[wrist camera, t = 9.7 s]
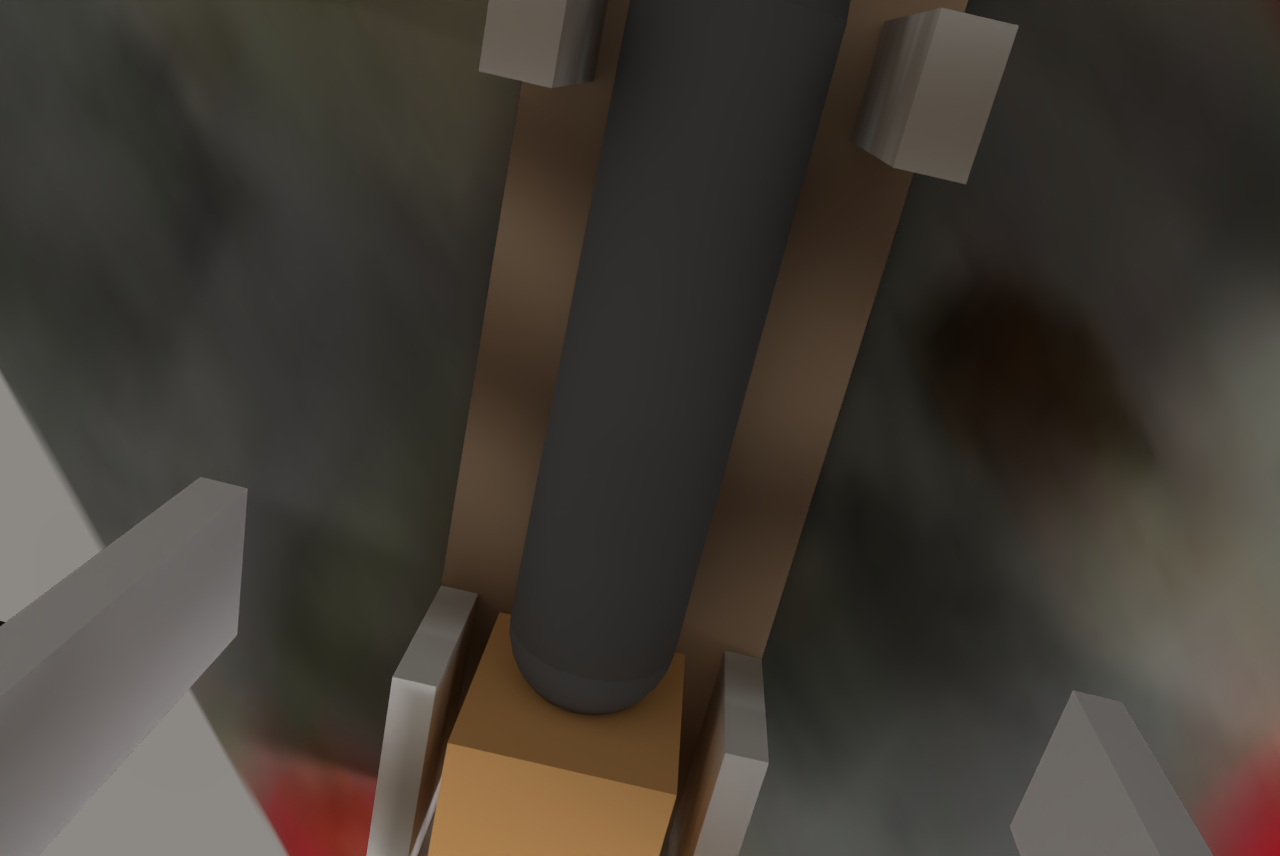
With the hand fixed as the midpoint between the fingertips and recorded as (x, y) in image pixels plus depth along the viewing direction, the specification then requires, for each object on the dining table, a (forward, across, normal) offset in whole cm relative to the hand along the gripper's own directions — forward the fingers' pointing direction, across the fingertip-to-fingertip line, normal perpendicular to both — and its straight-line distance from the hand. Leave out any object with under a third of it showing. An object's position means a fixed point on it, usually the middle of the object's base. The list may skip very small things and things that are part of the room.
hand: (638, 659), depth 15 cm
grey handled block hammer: (+9, -1, +1) cm, 9 cm away
